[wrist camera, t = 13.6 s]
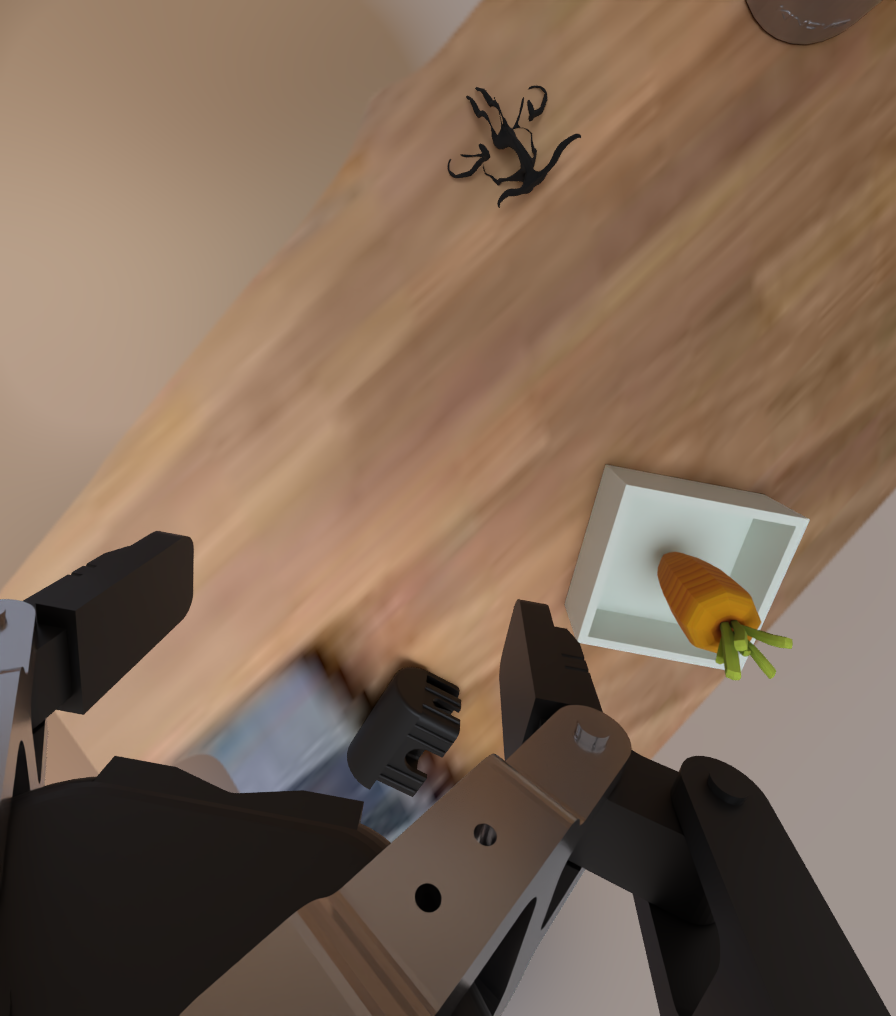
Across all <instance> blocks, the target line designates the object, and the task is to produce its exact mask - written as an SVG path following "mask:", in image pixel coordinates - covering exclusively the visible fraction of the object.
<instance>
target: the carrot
mask: <svg viewBox="0 0 896 1016" xmlns="http://www.w3.org/2000/svg"><path fill="white" fill-rule="evenodd" d="M657 576H658V580H659V584H660V586H661V589H662V592H663V594H664V597H665V599H666V601H667V603H668V605H669V608H670V610H671V612H672V614H673V615H674V617H675V619H676V621H677V622H678V624H679V626H680V628H681V629H682V631H683V632H684V634H685V635H686V637H687V639H688V640H689V642H690V643H691V644H692V645H693V646H695V647H697V648H700V649H704V650H707V651H710V652H714V653H717V656H716V660H715V662H716V663H718V664H723V663H724V668H725V674H726V677H728V678H730V679H732V680H740V678H741V669H740V660H739V655H738V651H739V652H740V654H741V655H742V656H745V657H747V656H749V655H751V657H752V658H753V659H754V660H755V662H756V663H757V664H758V666H759V667H760V668H761V670H762V671H763V672H764V673H765V674H766V675H767V676H768V678H769V679H771V678H773V677H774V676H775V673H776V670H775V668H774V667H773V666H772V665H771V664H770V662H769V661H768V660H767V659H766V658H765V657H764V656H763V654H762V653H761V652H760V651H759V650H758V649H757V648H756V647H755V646H754V645H753V644H752V643H751V642H750V641H751V639H752V638H755V639H757V640H759V641H762V642H764V643H766V644H768V645H771V646H776V647H779V648H788V649H791V648H792V639H790V638H787V637H782V636H778V635H773V634H770V633H767V632H763V631H760V630H757V629H758V628H759V626H760V624H761V620H760V617H759V615H758V612H757V610H756V607H755V605H754V602H753V600H752V597H751V595H750V594H749V593H748V592H747V591H746V590H745V589H744V588H742V587H741V586H740V585H739V584H738V583H737V582H736V581H734V580H733V579H732V578H731V577H729V576H728V575H727V574H726V573H724V572H723V571H722V570H721V569H719V568H717V567H715V566H713V565H712V564H710V563H708V562H706V561H703V560H701V559H699V558H697V557H693V556H690V555H687V554H684V553H680V552H669V553H666V554H664V555H663V556H662V558H661V560H660V563H659V566H658V571H657Z"/></svg>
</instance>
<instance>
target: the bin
mask: <svg viewBox="0 0 896 1016" xmlns="http://www.w3.org/2000/svg"><path fill="white" fill-rule="evenodd" d="M809 520H810V519H808V518H806V517H804V516H803V515H801V514H799V513H797V512H795V511H793V510H792V509H790V508H788V507H786V506H784V505H783V504H781V503H779V502H777V501H775V500H773V499H772V498H770V497H768V496H766V495H764V494H759V493H754V492H749V491H743V490H738V489H733V488H727V487H722V486H717V485H712V484H706V483H701V482H696V481H691V480H685V479H680V478H675V477H670V476H664V475H659V474H654V473H648V472H643V471H638V470H633V469H627V468H622V467H617V466H612V465H605V468H604V472H603V475H602V478H601V482H600V485H599V489H598V492H597V495H596V499H595V502H594V506H593V509H592V512H591V516H590V519H589V523H588V526H587V529H586V533H585V536H584V540H583V543H582V546H581V550H580V553H579V557H578V560H577V563H576V567H575V570H574V574H573V577H572V580H571V584H570V587H569V591H568V594H567V597H566V601H565V604H564V605H565V608H566V611H567V614H568V617H569V620H570V623H571V626H572V629H573V632H574V635H575V638H576V640H577V641H578V642H579V643H583V644H588V645H594V646H599V647H604V648H610V649H615V650H620V651H626V652H631V653H636V654H642V655H647V656H653V657H658V658H663V659H669V660H674V661H679V662H685V663H690V664H695V665H701V666H706V667H711V668H717V669H722V670H725V668H724V663H723V664H718V663H716V662H715V660H716V656H717V653H714V652H710V651H707V650H704V649H700V648H697V647H695V646H693V645H692V644H691V643H690V642H689V640H688V639H687V637H686V635H685V634H684V632H683V631H682V629H681V628H680V626H679V624H678V622H677V621H676V619H675V617H674V615H673V614H672V612H671V610H670V608H669V605H668V603H667V601H666V599H665V597H664V594H663V592H662V589H661V586H660V584H659V580H658V576H657V571H658V566H659V563H660V560H661V558H662V556H663V555H664V554H666V553H669V552H680V553H684V554H687V555H690V556H693V557H697V558H699V559H701V560H703V561H706V562H708V563H710V564H712V565H713V566H715V567H717V568H719V569H721V570H722V571H723V572H724V573H726V574H727V575H728V576H729V577H731V578H732V579H733V580H734V581H736V582H737V583H738V584H739V585H740V586H741V587H742V588H744V589H745V590H746V591H747V592H748V593H749V594H750V595H751V597H752V600H753V602H754V605H755V607H756V610H757V612H758V615H759V617H760V620H761V624H760V626H759V628H758V629H757V630H760V629H761V627H762V624H763V622H764V620H765V618H766V615H767V613H768V611H769V609H770V607H771V604H772V602H773V600H774V598H775V596H776V593H777V591H778V589H779V587H780V585H781V582H782V580H783V578H784V576H785V573H786V571H787V569H788V567H789V565H790V562H791V560H792V558H793V556H794V554H795V551H796V549H797V547H798V545H799V542H800V540H801V538H802V536H803V534H804V531H805V529H806V527H807V525H808V523H809ZM755 640H756V639H755V638H752V639H751V641H750V642H751V643H752V644H754V642H755ZM738 655H739V660H740V669H741V671H742V669H743V666H744V664H745V662H746V660H747V658H748V656H747V657H745V656H742V655H741V654H740V652H739V651H738Z"/></svg>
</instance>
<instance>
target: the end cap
mask: <svg viewBox="0 0 896 1016" xmlns="http://www.w3.org/2000/svg"><path fill="white" fill-rule="evenodd" d="M458 696H459V688H458V687H457V686H456V685H454V684H452V683H450V682H448V681H446V680H444V679H442V678H440V677H438V676H436V675H434V674H432V673H430V672H428V671H426V670H423V669H419V668H414V667H407V668H404V669H401V670H400V671H398V672H397V673H396V675H395V676H394V678H393V679H392V681H391V682H390V684H389V685H388V687H387V688H386V690H385V691H384V693H383V694H382V696H381V697H380V699H379V701H378V702H377V704H376V705H375V707H374V708H373V710H372V711H371V713H370V714H369V716H368V717H367V719H366V720H365V722H364V724H363V725H362V727H361V728H360V730H359V731H358V733H357V734H356V736H355V737H354V739H353V740H352V742H351V744H350V746H349V748H348V752H347V761H348V765H349V768H350V770H351V772H352V774H353V776H354V777H355V778H356V779H357V781H358V782H359V783H361V784H362V785H363V786H364V787H366V788H368V789H369V790H370V788H371V787H372V786H373V784H374V783H375V781H376V780H378V781H380V782H382V783H384V784H386V785H388V786H391V787H393V788H395V789H397V790H399V791H401V792H403V793H405V794H407V795H409V796H412V797H413V796H414V795H415V794H416V792H417V791H418V790H419V788H420V787H421V786H422V784H423V783H424V782H425V780H426V779H427V774H425V773H423V772H421V771H419V770H417V764H418V759H419V757H420V756H421V755H422V753H423V752H424V750H428V751H430V752H432V753H434V754H436V755H438V756H440V757H443V756H444V755H445V753H446V752H447V751H448V749H449V748H450V747H451V745H452V744H453V743H454V741H455V740H456V739H457V737H458V735H459V731H460V719H458V718H456V717H454V716H452V715H451V713H452V712H453V710H454V711H456V712H458V713H459V711H460V710H461V700H460V699H459V698H458Z"/></svg>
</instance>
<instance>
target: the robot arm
mask: <svg viewBox="0 0 896 1016" xmlns="http://www.w3.org/2000/svg"><path fill="white" fill-rule="evenodd" d="M881 1H882V0H747V3H748V5H749V8H750V10H751V12H752V14H753V16H754V18H755V19H756V20H757V22H758V23H759V24H760V25H761V26H762V28H763V29H764V30H765V31H767V32H768V33H770V34H771V35H772V36H774V37H775V38H777V39H780V40H782V41H785V42H788V43H792V44H811V43H816V42H821V41H824V40H827V39H829V38H831V37H834V36H836V35H838V34H840V33H841V32H843V31H844V30H846V29H847V28H849V27H850V26H852V25H853V24H855V23H856V22H857V21H858V20H859V19H861V18H862V17H863V16H864V15H865V14H867V13H868V12H869V11H870V10H871V9H873V8H874V7H875V6H876V5H878V4H879V3H880V2H881ZM193 557H194V547H193V542H192V539H191V538H190V537H188V536H182V535H177V534H172V533H166V532H161V531H155V532H153V533H151V534H149V535H148V536H146V537H144V538H143V539H141V540H139V541H138V542H136V543H134V544H133V545H131V546H127V547H124V548H121V549H117V550H114V551H111V552H107V553H104V554H103V555H101V556H99V557H97V558H96V559H94V560H92V561H91V562H89V563H87V565H86V566H82V567H80V568H79V569H77V570H75V571H73V572H72V574H71V575H66V576H65V577H63V578H61V579H60V580H58V581H56V582H54V583H53V584H51V585H49V586H48V587H46V588H44V589H42V590H41V591H39V592H37V593H35V594H34V595H32V596H30V597H29V598H27V599H25V600H23V601H18V600H10V599H0V1016H501V1015H502V1013H503V1012H504V1010H505V1008H506V1006H507V1005H508V1003H509V1001H510V1000H511V998H512V996H513V994H514V992H515V990H516V988H517V986H518V984H519V983H520V981H521V979H522V976H523V975H524V972H525V970H526V968H527V966H528V964H529V962H530V960H531V958H532V956H533V954H534V952H535V950H536V949H537V947H538V945H539V944H540V942H541V940H542V939H543V937H544V936H545V934H546V932H547V931H548V929H549V928H550V926H551V924H552V923H553V921H554V919H555V918H556V916H557V915H558V913H559V911H560V910H561V908H562V906H563V905H564V903H565V902H566V900H567V898H568V897H569V895H570V893H571V892H572V890H573V888H574V887H575V885H576V884H577V882H578V881H579V879H580V877H581V876H582V874H583V872H584V871H585V869H587V870H588V871H590V872H592V873H594V874H596V875H598V876H600V877H602V878H604V879H606V880H608V881H609V882H611V883H613V884H616V885H617V886H619V887H621V888H623V889H625V890H627V891H629V892H631V893H633V897H634V902H635V906H636V910H637V915H638V919H639V924H640V928H641V932H642V937H643V941H644V946H645V950H646V954H647V959H648V963H649V968H650V972H651V977H652V981H653V985H654V990H655V994H656V999H657V1003H658V1007H659V1012H660V1016H891V1015H890V1013H889V1012H888V1010H887V1009H886V1006H885V1005H884V1003H883V1001H882V999H881V998H880V996H879V994H878V993H877V991H876V989H875V987H874V986H873V984H872V982H871V980H870V978H869V977H868V975H867V973H866V971H865V970H864V968H863V966H862V964H861V963H860V961H859V959H858V957H857V956H856V954H855V952H854V950H853V949H852V947H851V945H850V943H849V941H848V940H847V938H846V936H845V935H844V933H843V931H842V929H841V928H840V926H839V924H838V922H837V920H836V919H835V917H834V915H833V913H832V912H831V910H830V908H829V906H828V905H827V903H826V901H825V900H824V898H823V896H822V894H821V892H820V891H819V889H818V887H817V885H816V884H815V882H814V880H813V878H812V877H811V875H810V873H809V871H808V869H807V868H806V866H805V864H804V862H803V861H802V859H801V857H800V855H799V854H798V852H797V850H796V849H795V847H794V845H793V843H792V841H791V840H790V838H789V836H788V834H787V833H786V831H785V829H784V827H783V826H782V824H781V822H780V820H779V819H778V817H777V815H776V813H775V812H774V810H773V808H772V806H771V805H770V803H769V801H768V799H767V798H766V796H765V795H764V793H763V792H762V791H761V790H760V789H759V787H757V785H755V783H754V782H753V781H751V780H750V779H749V778H748V777H747V776H746V775H744V774H743V773H742V772H740V771H739V770H737V769H736V768H734V767H732V766H731V765H728V764H727V763H725V762H722V761H720V760H717V759H714V758H711V757H705V756H693V757H690V758H687V759H686V760H685V761H684V762H683V764H682V765H681V768H680V770H679V772H677V771H675V770H673V769H671V768H668V767H666V766H663V765H661V764H659V763H657V762H654V761H652V760H650V759H647V758H645V757H643V756H641V755H639V754H638V753H636V752H634V751H633V750H631V749H632V748H631V742H630V739H629V737H628V735H627V733H626V732H625V731H624V729H623V728H622V727H621V726H620V725H619V724H618V723H617V722H616V721H615V720H614V719H612V718H611V717H609V716H608V715H606V714H605V713H603V711H602V708H601V705H600V702H599V699H598V696H597V694H596V691H595V688H594V685H593V682H592V679H591V676H590V673H588V667H587V664H586V661H584V655H583V652H582V649H581V646H580V643H579V642H578V641H577V640H576V639H575V638H574V636H573V635H572V634H571V633H570V632H569V631H568V630H567V629H565V628H559V627H554V624H553V621H552V617H551V613H550V610H549V606H548V605H546V604H541V603H536V602H530V601H525V600H520V599H518V600H517V601H516V603H515V606H514V609H513V613H512V617H511V621H510V625H509V629H508V633H507V637H506V641H505V644H504V648H503V652H502V657H501V663H500V673H499V681H500V696H501V711H502V726H503V741H504V756H505V761H504V760H503V759H502V758H500V757H499V756H498V755H496V754H491V755H489V756H488V757H486V758H485V759H484V760H483V761H481V762H480V763H479V764H478V765H477V766H476V767H475V768H474V769H473V770H471V771H470V772H469V773H468V774H467V775H466V776H465V777H464V778H463V779H461V780H460V781H459V782H458V783H457V784H456V785H455V786H454V787H453V788H452V789H450V790H449V791H448V792H447V793H446V794H445V795H444V796H443V797H442V798H440V799H439V800H438V801H437V802H436V803H435V804H434V805H433V806H432V807H431V808H429V809H428V810H427V811H426V812H425V813H424V814H423V815H422V816H421V817H419V818H418V819H417V820H416V821H415V822H414V823H413V824H412V825H411V826H409V827H408V828H407V829H406V830H405V831H404V832H403V833H402V834H401V835H400V836H398V837H397V838H396V839H395V840H394V841H393V842H392V843H390V842H389V841H388V840H387V839H385V838H384V837H383V836H382V835H380V834H378V833H377V832H375V831H374V830H372V829H371V828H369V827H367V826H365V825H363V824H361V823H360V822H361V816H362V810H363V804H364V802H363V801H358V800H352V799H347V798H341V797H336V796H330V795H325V794H320V793H314V792H309V791H303V790H302V791H280V792H258V793H230V792H227V791H225V790H223V789H221V788H219V787H217V786H214V785H212V784H210V783H208V782H206V781H204V780H202V779H200V778H198V777H196V776H193V775H191V774H189V773H187V772H185V771H183V770H181V769H179V768H177V767H173V766H167V765H162V764H157V763H151V762H146V761H140V760H135V759H129V758H124V757H118V756H114V757H113V759H112V760H111V761H110V762H109V763H108V764H107V765H106V767H105V768H104V769H103V770H102V771H101V772H100V774H99V775H98V776H97V777H86V778H80V779H72V780H68V781H63V782H58V783H54V784H50V785H47V786H45V772H46V758H47V757H46V756H47V743H48V723H47V717H48V716H49V715H50V714H52V713H53V712H54V711H55V710H61V711H66V712H72V713H77V714H82V715H84V714H85V713H86V712H87V711H88V710H89V709H90V708H91V707H92V706H93V705H94V704H95V703H96V702H97V701H98V700H99V699H100V698H101V697H103V696H104V695H105V694H106V693H107V692H108V691H109V690H110V689H111V688H112V687H113V686H114V685H115V684H116V683H117V682H118V681H119V680H120V679H121V678H122V677H123V676H124V675H125V674H126V673H128V672H129V671H130V670H131V669H132V668H133V667H134V666H135V665H136V664H137V663H138V662H139V661H140V660H141V659H142V658H143V657H144V656H145V655H146V654H147V653H148V652H149V651H150V650H151V649H153V648H154V647H155V646H156V645H157V644H158V643H159V642H160V641H161V640H162V639H163V638H164V637H165V636H166V635H167V634H168V633H169V632H170V631H171V630H172V629H173V628H174V627H175V626H176V625H177V624H179V623H180V622H181V621H182V620H183V619H184V617H185V616H186V614H187V613H188V611H189V608H190V606H191V603H192V598H193Z"/></svg>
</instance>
